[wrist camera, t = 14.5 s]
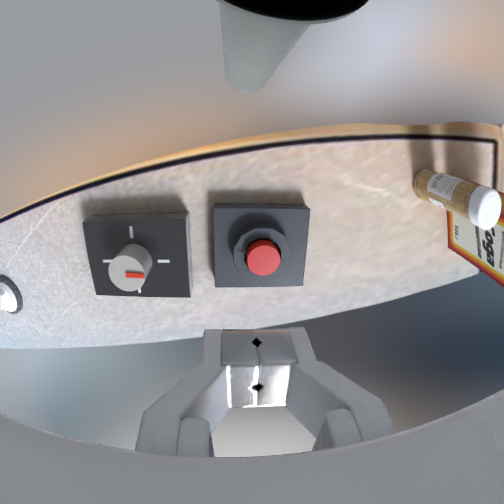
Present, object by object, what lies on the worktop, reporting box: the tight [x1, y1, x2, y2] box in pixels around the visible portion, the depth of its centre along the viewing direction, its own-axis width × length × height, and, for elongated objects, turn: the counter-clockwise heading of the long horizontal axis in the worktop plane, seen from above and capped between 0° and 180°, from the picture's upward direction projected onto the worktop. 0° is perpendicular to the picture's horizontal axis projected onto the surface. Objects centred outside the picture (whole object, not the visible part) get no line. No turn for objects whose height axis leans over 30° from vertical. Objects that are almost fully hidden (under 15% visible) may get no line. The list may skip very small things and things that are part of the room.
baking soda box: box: [447, 182, 504, 287], centre depth 30 cm, size 10×6×16 cm
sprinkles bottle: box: [414, 169, 501, 230], centre depth 29 cm, size 5×5×13 cm
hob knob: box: [108, 244, 152, 291], centre depth 31 cm, size 4×4×4 cm
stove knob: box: [0, 276, 23, 314], centre depth 35 cm, size 7×7×3 cm
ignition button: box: [246, 240, 280, 276], centre depth 33 cm, size 4×4×2 cm
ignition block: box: [213, 204, 310, 287], centre depth 35 cm, size 10×11×4 cm
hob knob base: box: [83, 212, 193, 297], centre depth 34 cm, size 10×13×3 cm
